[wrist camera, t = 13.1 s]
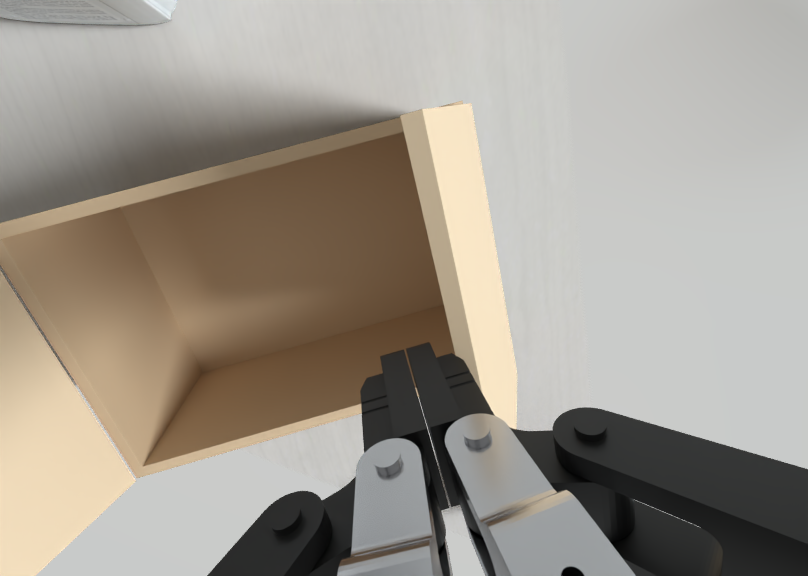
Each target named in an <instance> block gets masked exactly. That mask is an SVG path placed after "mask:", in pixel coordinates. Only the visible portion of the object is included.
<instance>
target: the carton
mask: <svg viewBox="0 0 808 576" xmlns="http://www.w3.org/2000/svg"><path fill="white" fill-rule="evenodd" d="M461 104H463V102H462V101H459V102H456V103H452V104H448V105H444V106H441V107H445V106H453V105H461ZM0 265H1V267H2V269H3V270H4V272H5V273H6V275H7V276H8V278H9V279H10V281H11V283H12V284H13V286H14V287H15V289H16V290H17V292H18V294H19V295H20V297H21V298H22V300H23V301H24V303H25V304H26V306H27V308H28V309H29V311H30V312H31V314H32V315H33V317H34V319H35V320H36V322H37V323H38V325H39V326H40V328H41V329H42V331H43V333H44V334H45V336H46V337H47V339H48V340H49V342H50V343H51V345H52V347H53V348H54V350H55V351H56V353H57V354H58V356H59V358H60V359H61V361H62V362H63V364H64V365H65V367H66V368H67V370H68V372H69V373H70V375H71V376H72V378H73V379H74V381H75V383H76V384H77V386H78V387H79V389H80V390H81V392H82V393H83V395H84V396H85V398H86V400H87V401H88V403H89V404H90V406H91V408H92V409H93V410H94V412H95V414H96V415H97V417H98V418H99V420H100V422H101V423H102V425H103V426H104V428H105V429H106V431H107V432H108V434H109V435H110V437H111V438H112V440H113V442H114V443H115V445H116V446H117V448H118V449H119V451H120V453H121V454H122V456H123V457H124V459H125V461H126V462H127V464H128V465H129V467H130V468H131V470H132V472H133V473H134V475H135V476H136V478H140V477H143V476H146V475H150V474H153V473H157V472H160V471H164V470H167V469H171V468H174V467H178V466H181V465H184V464H188V463H191V462H195V461H198V460H202V459H205V458H209V457H212V456H216V455H219V454H222V453H226V452H229V451H233V450H236V449H240V448H243V447H247V446H250V445H254V444H257V443H261V442H264V441H268V440H271V439H274V438H278V437H281V436H285V435H288V434H292V433H295V432H299V431H302V430H306V429H309V428H312V427H316V426H319V425H323V424H326V423H330V422H333V421H337V420H340V419H344V418H347V417H351V416H354V415H357V414H361V413H362V410H361V405H362V404H361V395H360V390H361V388H362V386H363V384H364V382H365V380H366V378H368V377H371V376H375V375H378V374H382V373H383V371H382V365H381V359H380V356H382V355H386V354H389V353H393V352H396V351H399V350H403V349H404V351H405V355H406V358H407V362H408V365H409V368H410V372H411V375H412V379H413V382H414V385H415V389H416V392H417V388H416V384H415V381H414V377H413V374H412V370H411V366H410V363H409V359H408V356H407V352H406V348H410V347H413V346H417V345H420V344H423V343H427V342H430V344H431V346H432V349H433V351H434V353H435V356H436V357H440V356H443V355H447V354H450V353H453V354H454V355H455V351H454V347H453V342H452V338H451V334H450V329H449V325H448V321H447V316H446V312H445V308H444V303H443V299H442V295H441V290H440V286H439V282H438V277H437V273H436V269H435V264H434V260H433V256H432V251H431V247H430V243H429V238H428V234H427V230H426V225H425V221H424V217H423V212H422V208H421V204H420V199H419V195H418V191H417V186H416V182H415V178H414V173H413V169H412V165H411V160H410V156H409V152H408V147H407V143H406V139H405V134H404V130H403V126H402V121H401V117H399V118H395V119H391V120H388V121H384V122H380V123H376V124H372V125H369V126H365V127H361V128H357V129H354V130H350V131H346V132H342V133H338V134H335V135H331V136H327V137H323V138H320V139H316V140H312V141H308V142H304V143H301V144H297V145H293V146H289V147H286V148H282V149H278V150H274V151H270V152H267V153H263V154H259V155H255V156H252V157H248V158H244V159H240V160H236V161H233V162H229V163H225V164H221V165H218V166H214V167H210V168H206V169H202V170H199V171H195V172H191V173H187V174H183V175H180V176H176V177H172V178H168V179H165V180H161V181H157V182H153V183H149V184H146V185H142V186H138V187H134V188H131V189H127V190H123V191H119V192H115V193H112V194H108V195H104V196H100V197H97V198H93V199H89V200H85V201H81V202H78V203H74V204H70V205H66V206H63V207H59V208H55V209H51V210H47V211H44V212H40V213H36V214H32V215H29V216H25V217H21V218H17V219H13V220H10V221H6V222H2V223H0ZM417 396H418V397H419V395H418V392H417Z"/></svg>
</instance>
